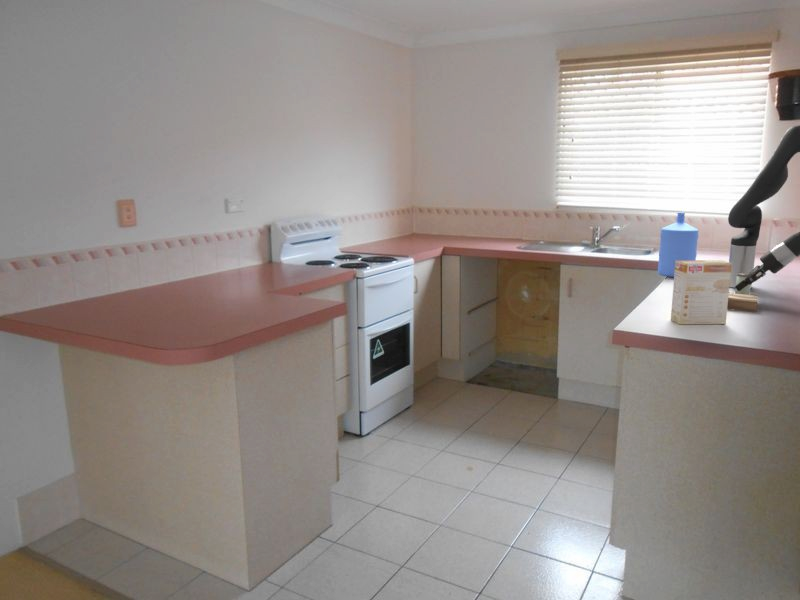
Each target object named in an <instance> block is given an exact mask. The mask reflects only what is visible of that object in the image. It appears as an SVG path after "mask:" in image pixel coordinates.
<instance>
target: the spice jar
mask: <svg viewBox="0 0 800 600" xmlns="http://www.w3.org/2000/svg"><path fill="white" fill-rule="evenodd" d="M748 274H749V273H737V279H736V285H738V284H739V283H740V282H742V281H743V280H744V279H745V278H747V277H748ZM749 280H750V281H751V278H749ZM750 287H751V284H750V285H747V286H746V287H744V288H743V289H742V290H740V291H738V290H737V289H736V288H735V290H734V293H735V294H747V295H751V288H752V287H751V288H750Z"/></svg>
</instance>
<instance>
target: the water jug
mask: <svg viewBox="0 0 800 600" xmlns="http://www.w3.org/2000/svg"><path fill="white" fill-rule="evenodd" d="M676 214H677V216H676V221H675V222H673V223H672V224H668V225H667V226H664V227H662V228H661V230H660V236H659V237H660V243H659V251H658V264H657V265H658V267H657V274H658V275H659V276H662V277H668V278H674V274H675V262H676V261H687V260H696V258H697V249H698V240H699V230H698V229H697V228H696V227H694V226H692V225H690V224H688V223H686V222H685V217H686V216H685V214H686V213H685V212H677V213H676Z"/></svg>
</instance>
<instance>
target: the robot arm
mask: <svg viewBox="0 0 800 600" xmlns="http://www.w3.org/2000/svg"><path fill="white" fill-rule="evenodd" d="M798 153H800V125H799V124H798V125H794V126H791V127H789V128H788V129H787V130H786V131H785V132H784V134H783V135H782V137H781V139H780V141H779V142H778V145H777V147H776V149H775V150H774V151H773V153H772V155H771V156H770V158H769V159H768V161H767V163H766V164H765V166H763V168H762V170H761V171H760V172H759V174H758V175H757V176H756V178H755V179H754V181H753V182H752V184H751V185H750V187H749V188H748V189H747V191H746V192H745V193H744V194H743V196H742V197H740V198H739V200H738V201H737V202H736V203H735V204H734V205H733V207H732V208H731V209H730V211H729V213H728V219H727V221H728V224H729V226H730V227H732V228H735V229H744V230H743V231H742V232H741V233H740V234H738V235H736V236H732V238H731V240H730V248H729V259H728V262H729V263H732V266H731V276H730V286H729V288H732V289H733V288H736V289H737V290H738V291H740V290H742V289H743V288H744V287H746V286H747V285H750V284H751V287H750V289H751V288H752V286H753V283H755V282H757V281H758V280H760V279H761V278H764V277H765V276H766V274H767V272H768V271H769V272H771V273H772V274H776V273H778V272H779V271H781V270H783V268H785V267H787V266H788V265H789V264H791V263H792V262H793V261H794V260H796V259H797V258H799V256H800V231H798V232H795V233H793V234H792V235H790V236H789V237H788V238H786V239H784V241H782V242H780V243H779V244H777V245H775V246H774V247H772V248H771V249H770V250H769V251H767V252H766V253H764V254H763V255H761V257H759V260H760V262H761V263H762V264H761V265H756V266H755V262H756V261H755V260H756V253H757V252H756V251H757V245H758V244H757V243H758V241H759V237H760V231H761V224H762V221H763V220H762V218H763V212H762V209H761V207H760V206H759V205H760V204H762V203H763V202H766V201H767V200H769V199H770V198H772V197H774V196H775V195H776V194H777V193H778V192H779V191H780V190H781V189H782V188H783V186H784V185H785V183H786V182H787V180H788V178H789V167H788V164H789V163H790V160H792V158H793V157H794V156H795V155H797V154H798ZM737 273H749V274H748V277H747V278H745V279H744V280H743V281H742V282H740V283H739V284H738V285H736V279H737ZM749 278H751V281H750V280H749Z"/></svg>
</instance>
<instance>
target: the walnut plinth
mask: <svg viewBox="0 0 800 600" xmlns="http://www.w3.org/2000/svg"><path fill="white" fill-rule="evenodd" d="M757 305H758V295H755V294H750V295H747V294H735V292H733V293H732V292H729V296H728V306H727V310H731V309H734V310H733V311H741V310H743V311H744V312H752V313H755V312H757V307H758V306H757ZM743 311H742V312H743Z"/></svg>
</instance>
